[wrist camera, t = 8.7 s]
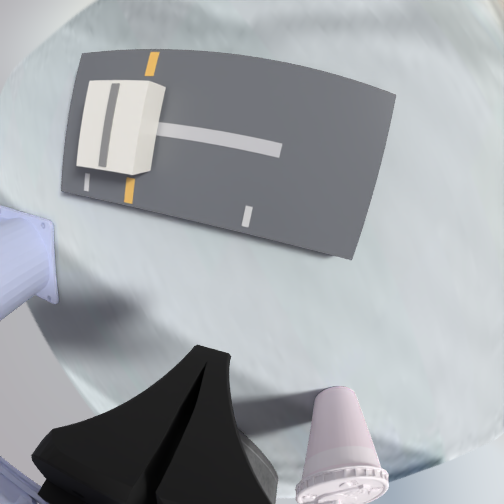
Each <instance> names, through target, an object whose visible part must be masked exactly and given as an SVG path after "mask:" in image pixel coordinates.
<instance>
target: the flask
mask: <svg viewBox="0 0 504 504" xmlns="http://www.w3.org/2000/svg"><path fill="white" fill-rule="evenodd" d="M238 432H239V435H240V439H241V442H242V444H243V447H244V450H245V452H246V455H247V457H248V460H249V462H250V464H251V466H252V469H253V471H254V473H255V475H256V477H257V479H258V481H259V483H260V485H261V486H262V488H263V490H264V491H265V493H266V495H267V496H268V498H269V500H270V501H271V503H272V504H275V502H276V493H277V484H278V476H277V473H276V471H275V469H274V467H273V466H272V464H271V463H270V461H269V460H268V459H267V458H266V456H265V455H264V454H263V453H262V452H261V450H260V449H259V448H258V447H257V446H256V445H255V444H254V443H253V442H252V441H251V440H250V439H249V438H248V437H247V436H245V435H244V434H243V433H242V432H241V431H240V430H239V429H238Z"/></svg>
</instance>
